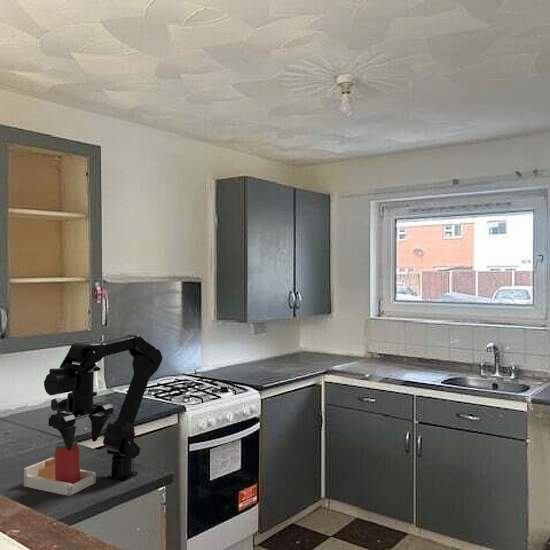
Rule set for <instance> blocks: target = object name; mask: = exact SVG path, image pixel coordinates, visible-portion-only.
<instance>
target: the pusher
mask: <svg viewBox="0 0 550 550" xmlns="http://www.w3.org/2000/svg"><path fill="white" fill-rule="evenodd" d="M51 458H52V457H51ZM48 459H49V458H48ZM46 460H47V459H46ZM38 477H42V478H47V479H52V480H55V457H53V458H52V459H49V460H47V461H45V467H42V468H40V469H38Z"/></svg>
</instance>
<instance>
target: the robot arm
mask: <svg viewBox="0 0 550 550" xmlns="http://www.w3.org/2000/svg"><path fill="white" fill-rule="evenodd" d="M127 351H128V354H129V355H130V356H131V357H132V358H133V360H132V371H133V375H132V377H131V381H130V384H129V386H128V388H127V390H126V393H125V397H124V400H123V402H122V404H121V407H120V411H119V414H118V416H117V419H116V420H114V422H113V423H106V422H107V421H108V419H109V418H110V417H111V415H113V414H114V406H113V404H112V403H110V402H103V401H96V402H94V397H97V396H98V392H97V391H94V387H95V386H94V381H95V378H94V377H95V375H94V374H95V372H99V371H101V367H99V366H98V365H97V364H96V363H99V362H100V361H101V360H102V359H103V358H105V357H108V356H112V355H115V354H119V353H123V352H127ZM162 362H163V355H162V352H161V350H160V349H158V348H157V347H155V346H154V345H152V344H151V343H149V342H147V341H146V340H145V339H144V338H143V337H141V336H140V335H137V334H127V335H125V336H121V337H116V338H112V339H108V340H103V341H99V342H73V343H72V344H71V346H70V347H69V349H68V352H67V354H66V355H65V357H64V358H63V360H62V362H61V364H60V365H59V368H54V367H53V368H49V373H47V375H46V376H45V379H44V380H43V386H44V387H43V388H44V391H45V393H46V394H47V395H49V396H57V395H61V394H66V393H68V394H67V398H65V399H62V398H61V397H56V398H53V399H51V400H50V408H51V411H52V412H55V411H56V413H54V414H51V415H50V416H49V417H48V426H47V427H51V428H53V429H54V430H55V429H56V430H57V431H58V432H59V433H60V436H61V437H62V438H61V439H63V441H64V443H65V446H66V448H67V450H68V451H71V449H72V445H73V441H75V440H74V439H75V434H76V429H77V426H75V424H76V422H77V420H80V419H84V418H86V417H88V418H89V420H90V424H91V425H90V426H91V441H92V442H94V443H96V442H97V440H98V438H99V436H100V434H101V431H102V430H103V428H104V426H105V425H106V424H107V425H106V429H105V432H104V434H103V435H102V437H103V441H102V444H103V446H104V449H105V451H106V454H107V455H110V456H112V457H111V469H110V470H111V472H110V473H109V474H107V478H108V479H115V480H118V481H119V480H120V481H127V480H129V479H131V478H133V477H134V476H137V475H138V474H139V472H138V471H136V470H134V467H135V465H134V463H135V458H136V457H138V456H140V452H141V447H140V446H139V445H138V444H137V443H136V442H135V441H134V440H135V436H136V432H135V425H134V424H135V421H136V417H137V415H138V413H139V409H140V406H141V403H142V400H143V398H144V395H145V393H146V390H147V387H148V384H149V381H150V379H151V377H153V376H154V374H156V373H157V372H158V369H159V368H160V365H161V364H162Z"/></svg>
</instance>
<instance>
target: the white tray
mask: <svg viewBox="0 0 550 550" xmlns="http://www.w3.org/2000/svg"><path fill="white" fill-rule="evenodd" d="M52 458H54V457H50V458H47V459H44V460H42V461H40V462H37V463H34V464H32V465H28V466H27V467H24V468H23V487H26V488H31V489H35V490H38V491H39V490H40V491H45V492H49V493H55V494H58V495H62V496H63V495H64V496H69V497H70V496H72V495H74V494H77V493H79V492H80V491H82V490H84V489H86V488H88V487H90V486H92V485H95V484H96V482H97V481H96V480H97V472H96V471H91V470H86V469H81V468H80V481H78V482H76V483H74V484H72V483H67V482H62V481H57V480H52V479H47V478H42V477H38V469H40V468H42V467H45V461H47V460H49V459H52Z"/></svg>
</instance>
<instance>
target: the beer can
mask: <svg viewBox="0 0 550 550" xmlns="http://www.w3.org/2000/svg"><path fill="white" fill-rule="evenodd" d="M54 458H55V480H57V481H62V482H67V483H72V484H74V483H76V482H78V481H80V469H81V459H80V447H79V445H78V442H77V441H76V440H73V445H72V449H71V451H68V450H67V448H66V446H65V443H64V440H63V441H60V442H58V443H56V447H55V450H54Z"/></svg>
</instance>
